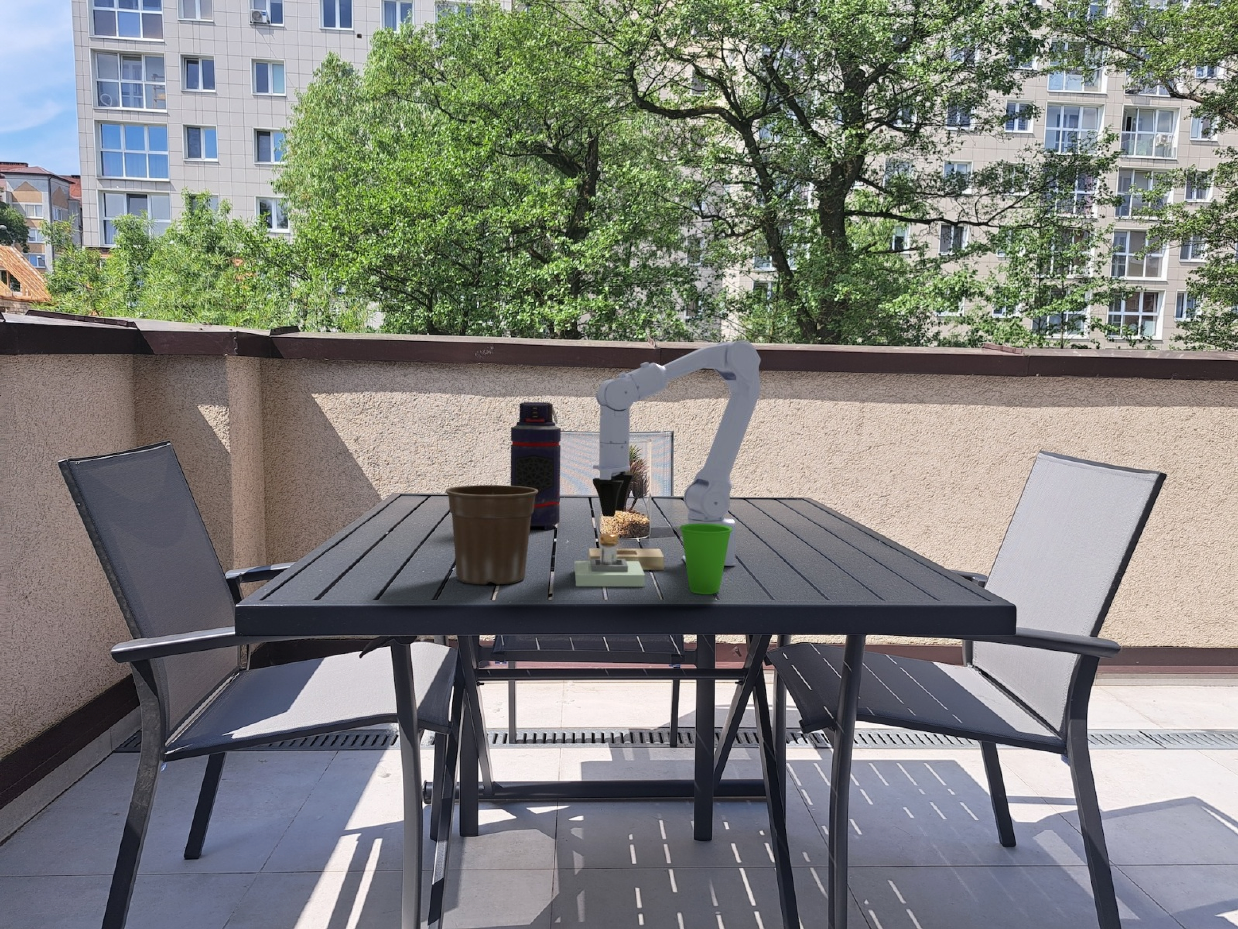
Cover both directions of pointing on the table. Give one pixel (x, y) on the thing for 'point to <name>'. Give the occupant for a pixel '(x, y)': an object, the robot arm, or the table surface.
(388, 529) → the table surface
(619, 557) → the mount
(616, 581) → the socket
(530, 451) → the red-banded navy canister
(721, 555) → the cup
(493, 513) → the plant pot
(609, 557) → the pin
